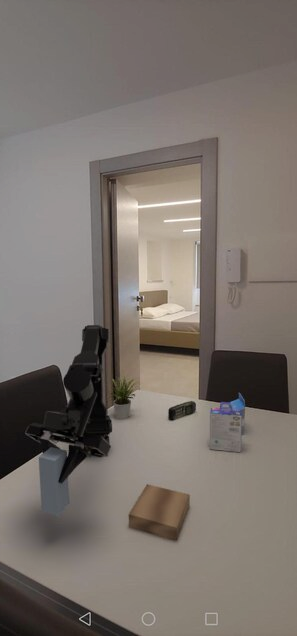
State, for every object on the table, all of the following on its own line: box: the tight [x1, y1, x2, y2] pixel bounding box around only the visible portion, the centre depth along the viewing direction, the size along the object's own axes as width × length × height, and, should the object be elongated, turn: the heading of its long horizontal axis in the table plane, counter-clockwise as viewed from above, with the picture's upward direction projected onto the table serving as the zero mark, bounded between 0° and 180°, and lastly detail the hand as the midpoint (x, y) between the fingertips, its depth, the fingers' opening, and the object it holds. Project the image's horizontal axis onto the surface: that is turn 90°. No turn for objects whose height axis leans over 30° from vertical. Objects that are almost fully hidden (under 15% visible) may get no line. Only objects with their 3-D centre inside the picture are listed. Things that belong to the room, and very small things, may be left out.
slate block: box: [38, 447, 70, 517], centre depth 67 cm, size 4×4×12 cm
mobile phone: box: [167, 400, 197, 421], centre depth 128 cm, size 5×3×15 cm
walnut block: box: [128, 483, 191, 542], centre depth 74 cm, size 11×11×4 cm
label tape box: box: [228, 392, 246, 436], centre depth 115 cm, size 9×4×12 cm, turn 178°
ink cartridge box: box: [209, 401, 242, 453], centre depth 103 cm, size 10×6×14 cm, turn 78°
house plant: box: [106, 376, 141, 420], centre depth 126 cm, size 14×14×16 cm
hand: (51, 480), depth 66 cm, fingers closed on slate block, 4 cm apart
